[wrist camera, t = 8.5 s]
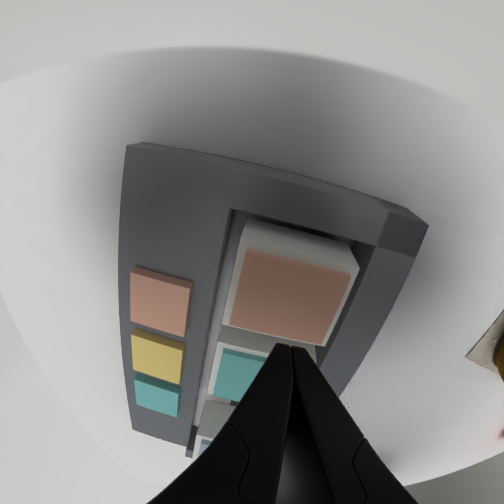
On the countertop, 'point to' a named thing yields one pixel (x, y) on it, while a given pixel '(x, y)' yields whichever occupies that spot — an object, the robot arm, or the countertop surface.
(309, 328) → the block
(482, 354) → the condiment
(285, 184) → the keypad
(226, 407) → the key slate
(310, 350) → the key teal
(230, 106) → the countertop surface
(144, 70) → the countertop surface
